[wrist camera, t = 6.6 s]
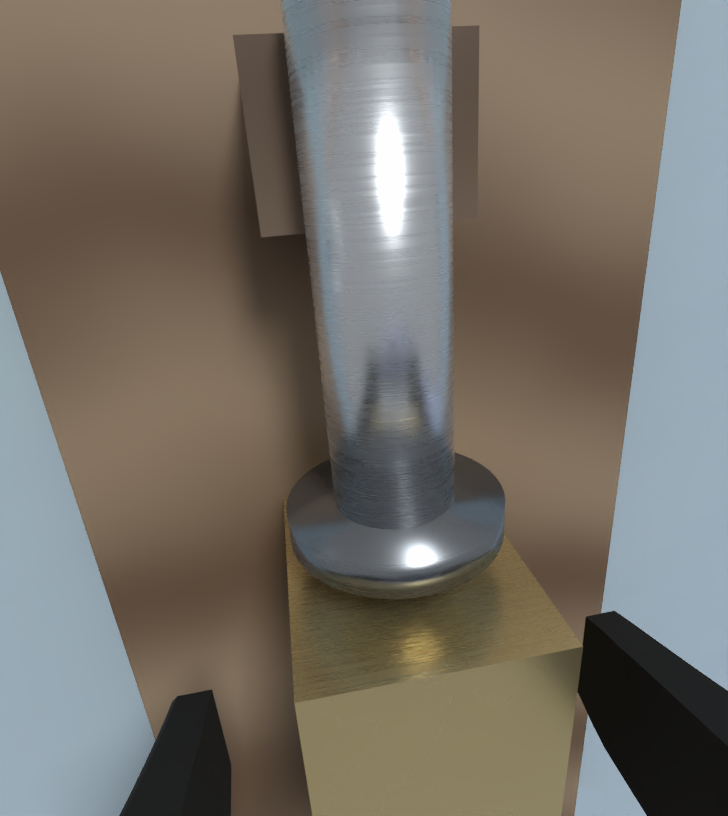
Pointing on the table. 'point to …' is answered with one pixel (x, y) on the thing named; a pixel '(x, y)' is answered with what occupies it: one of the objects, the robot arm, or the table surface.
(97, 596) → the table surface
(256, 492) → the shaft bench
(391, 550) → the shafts
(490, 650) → the wooden block
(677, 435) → the table surface
